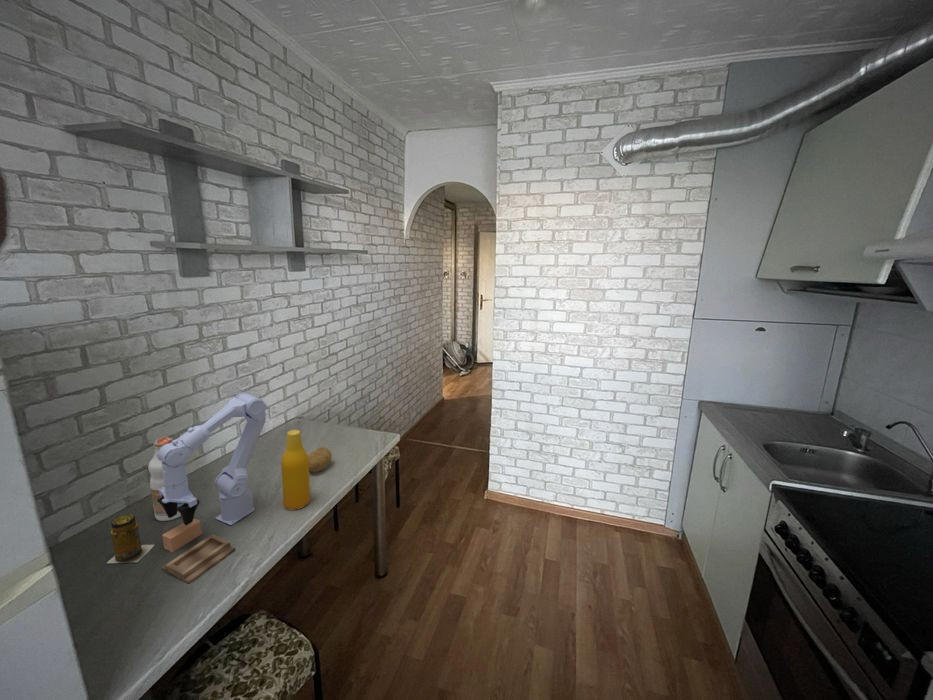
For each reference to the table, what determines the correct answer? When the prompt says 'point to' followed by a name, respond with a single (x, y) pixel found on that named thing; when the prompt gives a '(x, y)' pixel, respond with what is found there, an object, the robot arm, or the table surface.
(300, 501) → the yellow bottle
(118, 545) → the condiment
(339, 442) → the table surface
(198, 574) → the cradle jig
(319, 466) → the potato
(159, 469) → the fruit juice
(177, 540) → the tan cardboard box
